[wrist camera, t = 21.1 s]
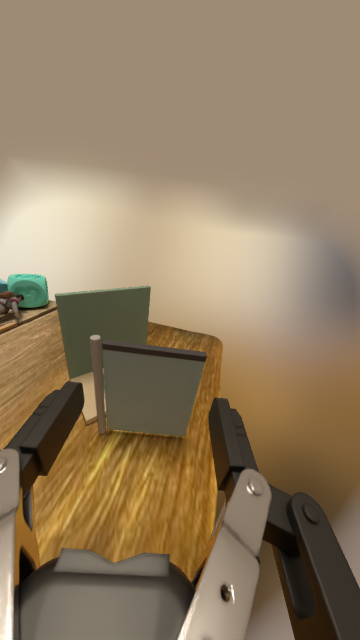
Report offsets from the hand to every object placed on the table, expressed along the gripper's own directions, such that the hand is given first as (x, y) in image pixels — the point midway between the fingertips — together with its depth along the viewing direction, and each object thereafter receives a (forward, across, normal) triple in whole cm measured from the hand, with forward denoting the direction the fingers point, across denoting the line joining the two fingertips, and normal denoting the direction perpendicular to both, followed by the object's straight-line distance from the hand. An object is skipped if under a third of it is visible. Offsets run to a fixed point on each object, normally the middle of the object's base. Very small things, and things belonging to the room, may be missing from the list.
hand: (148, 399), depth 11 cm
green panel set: (+17, +6, +18) cm, 25 cm away
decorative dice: (+43, +41, +17) cm, 61 cm away
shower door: (+8, 0, +17) cm, 19 cm away
